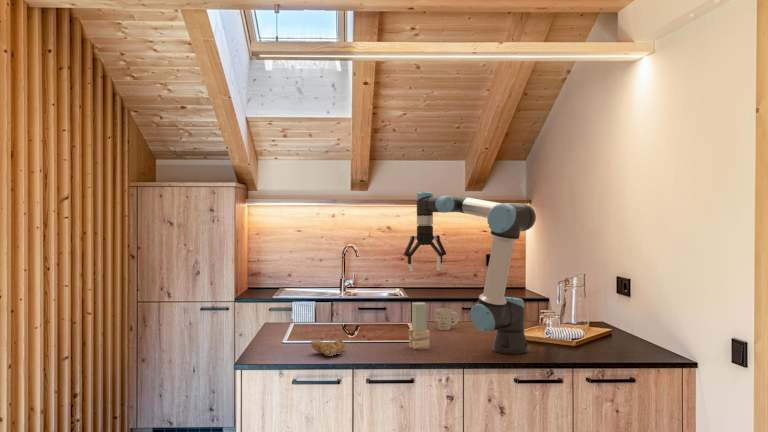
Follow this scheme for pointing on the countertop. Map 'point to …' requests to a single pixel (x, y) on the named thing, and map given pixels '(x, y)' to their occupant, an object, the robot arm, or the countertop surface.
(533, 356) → the countertop surface
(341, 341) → the ginger root
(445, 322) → the mug
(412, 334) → the slab upper
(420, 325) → the pale green block
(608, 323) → the countertop surface
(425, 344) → the beige wooden block
